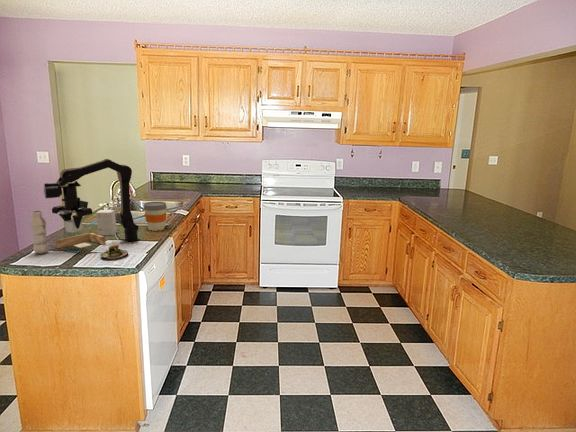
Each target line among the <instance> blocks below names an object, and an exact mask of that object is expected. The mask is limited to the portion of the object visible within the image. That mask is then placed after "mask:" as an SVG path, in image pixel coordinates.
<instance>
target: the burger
mask: <svg viewBox="0 0 576 432" xmlns="http://www.w3.org/2000/svg"><path fill="white" fill-rule="evenodd" d="M126 255H127V256H129V252H128V250H125V249H124V250H123V249H120V247H119V245H118V244H117V243H113V240H112V244H110V245H108V250H105V251H103V252H101V253H100V259H101V260H103V259H108V260H113V259H120V258H124V257H125V256H126Z"/></svg>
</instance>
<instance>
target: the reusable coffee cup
mask: <svg viewBox="0 0 576 432" xmlns="http://www.w3.org/2000/svg"><path fill="white" fill-rule="evenodd" d="M143 210H144V218H145V222H146V223H147V224H146V225H147V230H148V231H151V230H152V232H154V231H155V232H157V231H158V230H159V231H163V230H165V226H166V220H167V203H166V202H164V201H151V202H150V201H148V202H144V203H143Z"/></svg>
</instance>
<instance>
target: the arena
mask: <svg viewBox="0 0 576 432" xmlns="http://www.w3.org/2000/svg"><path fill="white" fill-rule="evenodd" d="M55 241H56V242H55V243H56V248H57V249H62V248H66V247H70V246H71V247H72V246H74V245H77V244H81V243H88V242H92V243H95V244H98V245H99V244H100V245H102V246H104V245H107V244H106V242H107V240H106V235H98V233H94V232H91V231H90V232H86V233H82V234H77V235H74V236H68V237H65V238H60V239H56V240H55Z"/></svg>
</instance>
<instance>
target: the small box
mask: <svg viewBox="0 0 576 432" xmlns="http://www.w3.org/2000/svg"><path fill="white" fill-rule="evenodd" d="M95 215H96V216H95V217H96V226H97V234H98V235H101V236H114V235H115V234H116V233H117V232H118V231H117V220H116V219H117V218H116V211H115V209H99V210H97V211H96V213H95Z"/></svg>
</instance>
